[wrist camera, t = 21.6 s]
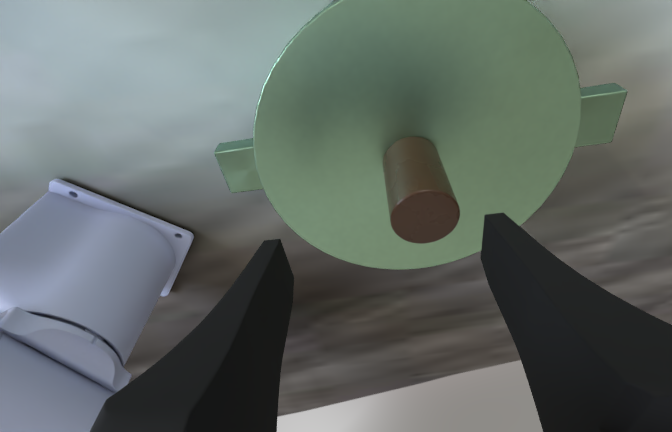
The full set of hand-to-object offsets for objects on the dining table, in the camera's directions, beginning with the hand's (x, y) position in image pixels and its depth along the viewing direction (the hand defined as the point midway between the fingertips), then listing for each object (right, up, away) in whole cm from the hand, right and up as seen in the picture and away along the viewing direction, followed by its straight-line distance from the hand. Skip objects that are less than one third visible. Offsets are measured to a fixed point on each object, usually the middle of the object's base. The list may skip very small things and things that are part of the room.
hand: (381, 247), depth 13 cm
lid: (+2, +4, +3) cm, 5 cm away
